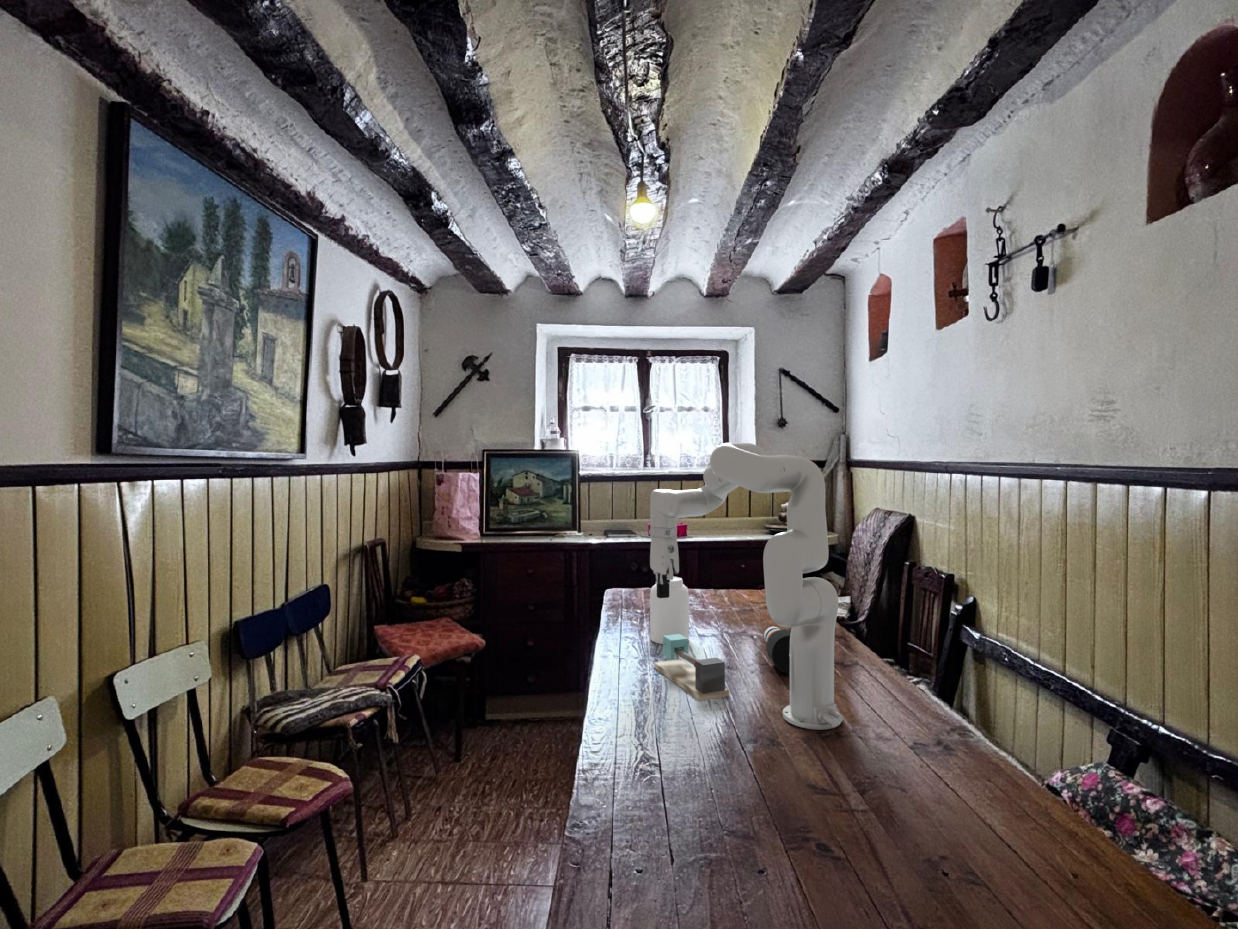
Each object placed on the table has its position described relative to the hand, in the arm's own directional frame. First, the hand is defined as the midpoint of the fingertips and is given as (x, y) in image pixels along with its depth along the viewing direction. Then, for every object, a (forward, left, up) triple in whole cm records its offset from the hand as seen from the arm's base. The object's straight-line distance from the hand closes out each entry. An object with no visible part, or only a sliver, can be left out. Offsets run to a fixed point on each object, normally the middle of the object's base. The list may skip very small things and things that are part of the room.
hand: (663, 597), depth 184 cm
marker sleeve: (-7, 0, -15) cm, 16 cm away
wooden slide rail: (-15, 0, -19) cm, 24 cm away
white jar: (+21, -12, -19) cm, 31 cm away
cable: (-8, -34, -19) cm, 40 cm away
